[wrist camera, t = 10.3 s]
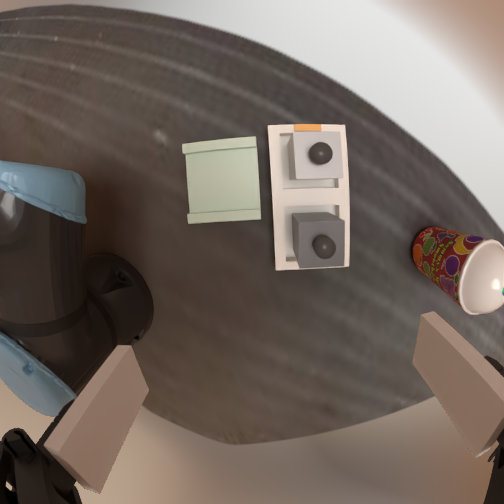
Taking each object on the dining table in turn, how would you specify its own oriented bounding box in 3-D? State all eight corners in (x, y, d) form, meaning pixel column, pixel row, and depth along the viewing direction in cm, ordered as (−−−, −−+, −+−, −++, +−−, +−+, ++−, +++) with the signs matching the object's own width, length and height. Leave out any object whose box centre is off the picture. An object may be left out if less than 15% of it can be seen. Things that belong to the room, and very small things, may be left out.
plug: (289, 180, 32) (297, 178, 23) (287, 143, 31) (294, 128, 22) (326, 179, 32) (347, 178, 23) (323, 142, 31) (344, 128, 22)
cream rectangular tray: (275, 263, 36) (277, 294, 26) (267, 130, 32) (267, 108, 22) (342, 259, 35) (368, 289, 25) (338, 129, 31) (365, 110, 21)
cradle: (191, 222, 35) (188, 223, 34) (186, 145, 33) (182, 144, 31) (261, 217, 35) (260, 219, 33) (256, 138, 32) (255, 136, 31)
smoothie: (402, 224, 34) (503, 266, 14) (447, 216, 33) (548, 247, 13) (404, 280, 36) (487, 353, 16) (448, 269, 35) (534, 325, 15)
